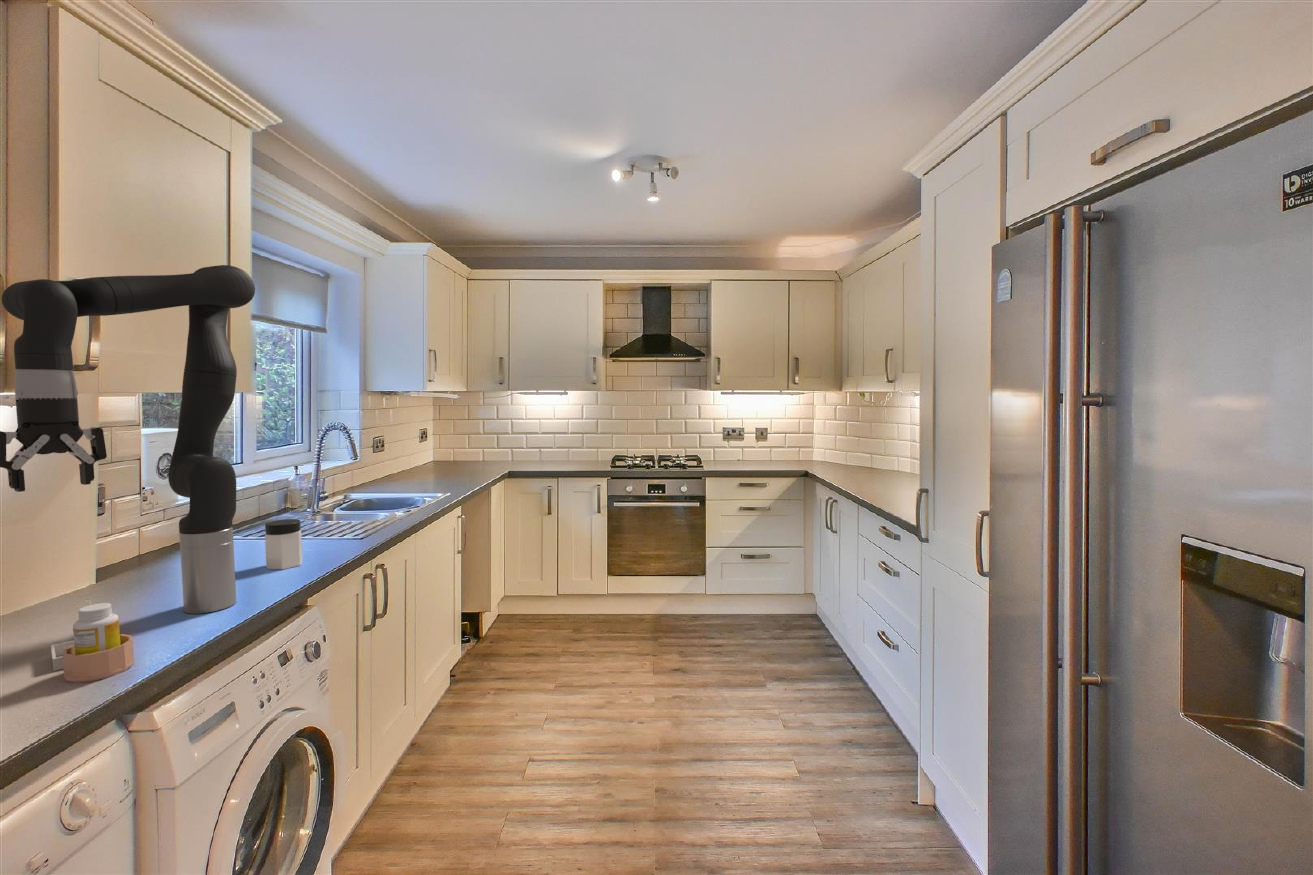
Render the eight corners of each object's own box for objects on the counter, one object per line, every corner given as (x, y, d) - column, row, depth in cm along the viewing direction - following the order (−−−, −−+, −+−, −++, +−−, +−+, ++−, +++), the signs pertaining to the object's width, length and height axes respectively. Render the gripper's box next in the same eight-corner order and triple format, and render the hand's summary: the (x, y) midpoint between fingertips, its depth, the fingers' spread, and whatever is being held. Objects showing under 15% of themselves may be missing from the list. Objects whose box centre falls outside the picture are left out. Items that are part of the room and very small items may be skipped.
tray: (51, 656, 104) (50, 645, 103) (112, 642, 109) (112, 631, 109) (53, 671, 98) (52, 659, 98) (117, 655, 104) (117, 644, 104)
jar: (295, 559, 165) (293, 517, 164) (309, 563, 161) (307, 521, 160) (259, 566, 158) (257, 523, 157) (273, 571, 153) (271, 527, 152)
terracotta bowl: (88, 661, 102) (86, 636, 101) (145, 656, 104) (143, 632, 103) (50, 685, 93) (48, 658, 93) (113, 679, 95) (111, 652, 95)
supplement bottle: (118, 655, 102) (115, 598, 102) (124, 664, 99) (120, 606, 98) (74, 666, 98) (69, 607, 97) (78, 676, 94) (74, 615, 94)
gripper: (90, 396, 110) (96, 481, 111) (-22, 396, 97) (-14, 492, 99) (109, 396, 107) (115, 483, 108) (-4, 396, 94) (4, 495, 95)
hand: (53, 487), depth 103 cm, fingers open, 8 cm apart
